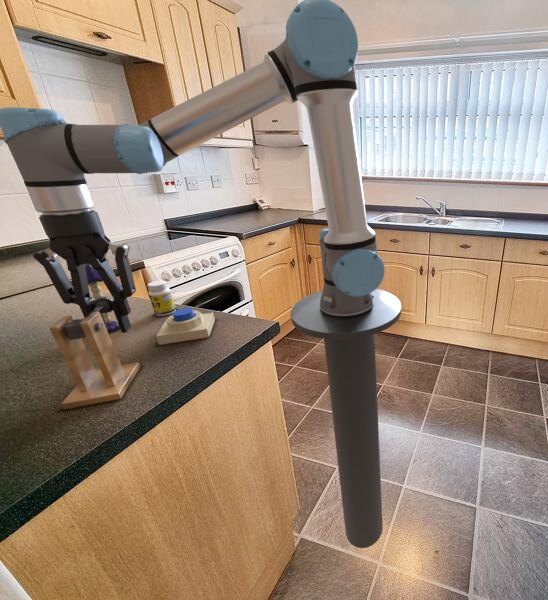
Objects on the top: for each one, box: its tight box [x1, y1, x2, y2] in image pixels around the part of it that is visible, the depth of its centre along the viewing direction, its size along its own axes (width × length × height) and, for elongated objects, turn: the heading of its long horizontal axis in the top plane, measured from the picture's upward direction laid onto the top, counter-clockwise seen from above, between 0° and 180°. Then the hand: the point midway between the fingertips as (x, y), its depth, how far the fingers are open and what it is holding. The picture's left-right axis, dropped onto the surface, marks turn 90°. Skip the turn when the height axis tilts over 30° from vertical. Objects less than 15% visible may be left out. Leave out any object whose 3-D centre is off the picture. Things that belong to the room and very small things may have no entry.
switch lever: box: [65, 296, 114, 340], centre depth 61 cm, size 13×3×3 cm, turn 19°
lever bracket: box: [48, 312, 141, 410], centre depth 58 cm, size 10×8×14 cm
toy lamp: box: [85, 264, 120, 334], centre depth 78 cm, size 5×5×17 cm
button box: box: [155, 309, 216, 346], centre depth 79 cm, size 10×9×4 cm
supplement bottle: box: [147, 280, 177, 317], centre depth 88 cm, size 5×5×8 cm
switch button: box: [172, 307, 195, 322], centre depth 78 cm, size 4×4×2 cm
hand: (115, 330), depth 67 cm, fingers closed on switch lever, 3 cm apart
